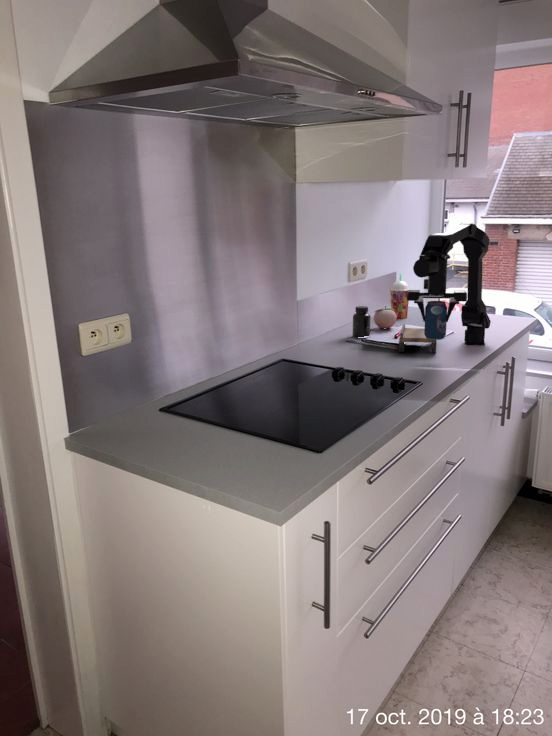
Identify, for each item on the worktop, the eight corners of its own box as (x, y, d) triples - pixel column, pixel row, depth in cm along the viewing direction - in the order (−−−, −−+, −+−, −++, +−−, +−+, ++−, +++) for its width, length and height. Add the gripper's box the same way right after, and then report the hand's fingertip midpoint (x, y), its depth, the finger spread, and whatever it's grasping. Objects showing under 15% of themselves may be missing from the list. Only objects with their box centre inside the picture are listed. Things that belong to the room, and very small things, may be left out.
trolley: (436, 343, 229) (437, 324, 228) (435, 354, 214) (436, 334, 212) (401, 341, 233) (402, 323, 231) (398, 353, 217) (399, 333, 215)
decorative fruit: (381, 333, 247) (381, 308, 244) (370, 329, 254) (370, 305, 252) (401, 330, 251) (401, 306, 248) (389, 327, 258) (390, 303, 255)
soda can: (441, 341, 201) (443, 304, 197) (421, 339, 204) (422, 303, 201) (448, 336, 206) (450, 301, 203) (428, 334, 210) (429, 299, 207)
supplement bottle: (371, 339, 238) (371, 308, 235) (353, 339, 239) (353, 308, 235) (369, 335, 245) (369, 305, 242) (351, 335, 245) (351, 305, 242)
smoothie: (406, 317, 276) (407, 272, 271) (411, 321, 268) (412, 275, 263) (387, 318, 276) (388, 273, 270) (392, 322, 268) (393, 275, 262)
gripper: (466, 271, 205) (464, 317, 209) (409, 270, 209) (407, 316, 213) (468, 275, 194) (465, 324, 199) (407, 275, 199) (406, 322, 203)
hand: (435, 321), depth 204 cm, fingers closed on soda can, 7 cm apart
